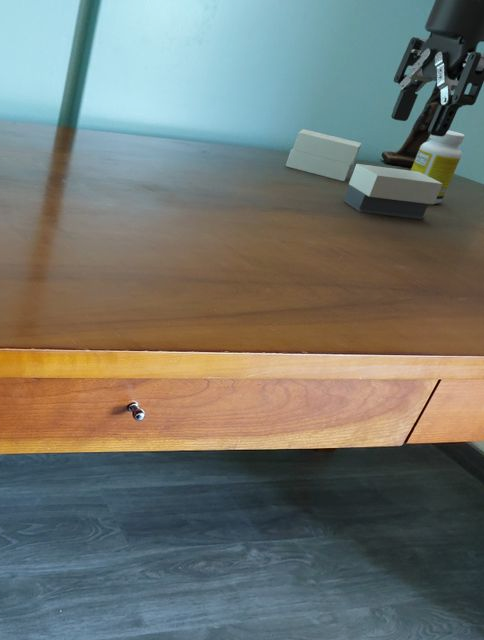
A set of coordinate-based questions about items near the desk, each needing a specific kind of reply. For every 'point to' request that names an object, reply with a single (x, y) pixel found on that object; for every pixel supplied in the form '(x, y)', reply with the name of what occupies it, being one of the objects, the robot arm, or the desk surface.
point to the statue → (416, 134)
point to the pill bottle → (439, 159)
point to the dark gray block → (384, 205)
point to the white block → (395, 184)
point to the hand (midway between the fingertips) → (416, 127)
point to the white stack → (323, 154)
